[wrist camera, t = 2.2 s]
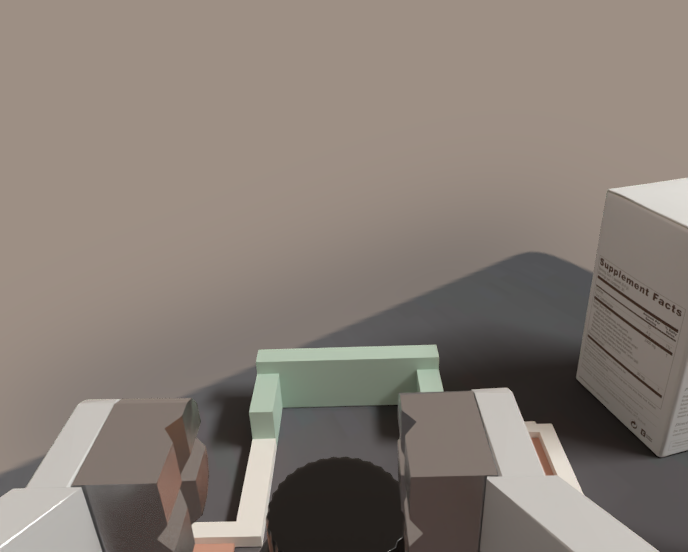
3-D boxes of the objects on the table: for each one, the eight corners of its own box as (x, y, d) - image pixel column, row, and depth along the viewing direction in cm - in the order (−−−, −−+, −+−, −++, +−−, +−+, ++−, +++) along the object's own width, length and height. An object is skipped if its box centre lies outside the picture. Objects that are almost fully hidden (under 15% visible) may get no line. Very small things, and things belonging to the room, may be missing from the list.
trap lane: (736, 860, 21) (770, 804, 19) (-24, 868, 21) (-64, 814, 19) (530, 387, 44) (536, 341, 42) (169, 397, 44) (160, 352, 42)
